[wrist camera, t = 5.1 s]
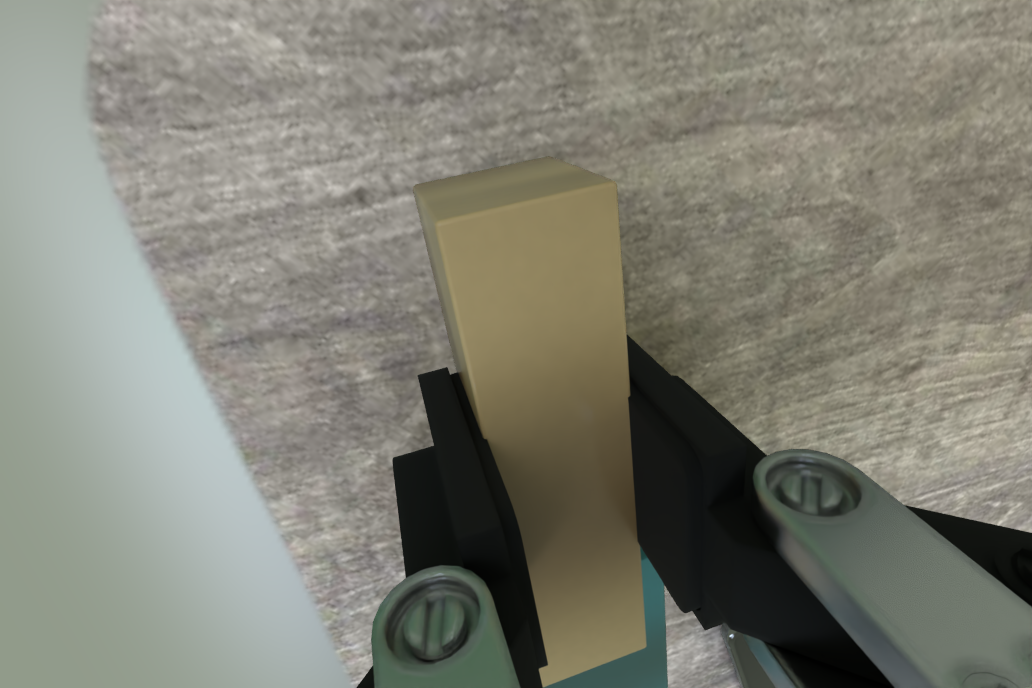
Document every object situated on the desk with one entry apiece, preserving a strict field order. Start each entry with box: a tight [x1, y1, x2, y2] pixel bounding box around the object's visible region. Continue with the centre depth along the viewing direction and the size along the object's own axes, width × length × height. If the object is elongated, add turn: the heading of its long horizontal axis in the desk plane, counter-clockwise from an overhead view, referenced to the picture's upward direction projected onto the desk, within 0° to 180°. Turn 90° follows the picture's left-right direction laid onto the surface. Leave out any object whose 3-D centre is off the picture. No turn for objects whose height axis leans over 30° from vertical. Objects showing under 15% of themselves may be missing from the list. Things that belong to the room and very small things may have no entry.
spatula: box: [413, 156, 668, 688], centre depth 11 cm, size 15×5×2 cm, turn 9°
